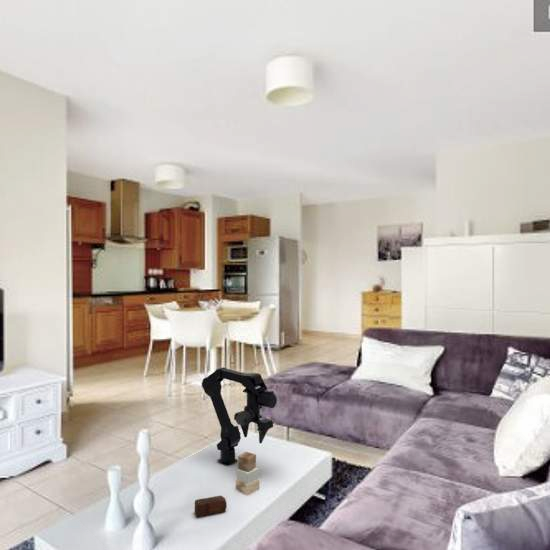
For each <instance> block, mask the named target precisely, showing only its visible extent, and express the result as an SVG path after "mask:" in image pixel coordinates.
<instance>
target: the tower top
mask: <svg viewBox="0 0 550 550" xmlns="http://www.w3.org/2000/svg"><path fill="white" fill-rule="evenodd" d="M236 479H237V480H239V481H241V482H243V483H245V484H250V483H251V482H253V481H255V480H257V479H259V468H258V467H257V466H256V467H255V468H254V469H253V470H251V471H250V472H246V471H243V470H240V469H238V468H237V469H236Z"/></svg>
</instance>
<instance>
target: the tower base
mask: <svg viewBox="0 0 550 550" xmlns="http://www.w3.org/2000/svg"><path fill="white" fill-rule="evenodd" d="M235 490H237V491H238V492H240V493H241V494H244V495H246V496H248V495H250V494H252V493H255V492H256V491H259V490H260V478H258V479H257V480H255V481H253V482H251V483H250V484H245V483H243V482H241V481H239V480H237V478H236V479H235Z"/></svg>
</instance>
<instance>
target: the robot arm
mask: <svg viewBox="0 0 550 550" xmlns="http://www.w3.org/2000/svg"><path fill="white" fill-rule="evenodd" d="M224 380H228V381H231V382H234V383H239V384H241V386H242V387H244V389H243V390H242V393H244V394H246V405H244V407H243V410H241V411H237V412H235V414H234V415H233V421H235V422H236V424H237V425H234V424H233V423H232V420H231V419H230V415H229V413H228V410H227V408H226V404H225V402H224V399H223V397H222V382H223V381H224ZM201 387H202V389H203V391H204V393H205V394H206V395H207V396H208V397H209V398H210V400H211V403H212V405H213V409H214V412H215V414H216V417H217V420H218V423H219V426H220V439H221V440H220V441H219V442H218V443H217V444H216V448H217V451H220V455H219V456H220V458H219V459H217V462H218V463H220V464H222V465H225V466H230V465H232V464H235V463H236V462H237V463H238V459H237V458H236V447H238V446H239V443H240V442H241V439H242V437H241V435H242V434H241V431H242V433H243V437H244V438H247V437H248V433H249V425H250V424H251V423H254V424H256V427H257V428H256V430H257V432H258V441H259V444H263V441H264V439H265V437H266V435H267V433H268V431H269V430H270V429H272V428H274V420H272V419H269V418H263V415H262V414H261V409H262V408H263V407H264V408H268V409H274V408H275V407H276V405H277V401H278V399H277V396H276V394H275V392H274V390H273V391H272V390H268V387H267V385H266V383H265V381H264V379H263V377H262V375H261V373H258V372H250V373H245V372H242V371H237V370H233V369H229V368H226V367H220V368H216V369H215V370H214V372H212V373H210V374H209V375H208V376H206V377H204V378H203V379H202V382H201ZM262 418H263V419H262ZM238 425H239V426H240V428H241V431H240V430H239V426H238Z"/></svg>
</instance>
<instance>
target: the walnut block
mask: <svg viewBox="0 0 550 550" xmlns="http://www.w3.org/2000/svg"><path fill="white" fill-rule="evenodd" d="M255 467H256V468H257V454H255V453H253V452H252V453H251V452H249V451H244V452H242V453H241V454H239V455H238V456H237V469H240V470H243V471H246V472H250V471H251V470H253V469H254V468H255Z"/></svg>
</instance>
